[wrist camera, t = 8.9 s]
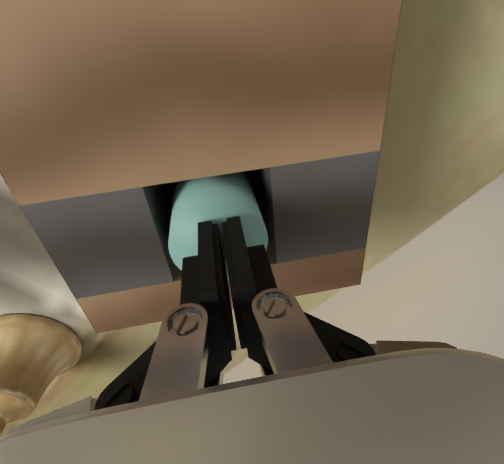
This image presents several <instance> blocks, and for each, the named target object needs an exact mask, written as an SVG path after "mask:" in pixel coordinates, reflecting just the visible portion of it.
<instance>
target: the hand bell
mask: <svg viewBox="0 0 504 464" xmlns="http://www.w3.org/2000/svg"><path fill="white" fill-rule="evenodd" d="M81 354H82V344H81V341H80V339H79V338H78V336H77V335H76V334H75V333H74V332H73V331H72V330H71V329H69V328H68V327H67V326H65V325H63V324H62V323H60V322H57V321H55V320H53V319H50V318H46V317H42V316H37V315H31V314H8V315H1V316H0V435H1V433H2V431H3V429H4V427H5V426H6V425H7V424H13V423H16V422H19V421H22V420H24V419H26V418H27V417H28V416H29V415H31V414H32V412H33V411H34V409H35V408H36V406H37V404H38V402H39V400H40V398H41V397H42V395H43V393H44V392H45V390H46V389H47V387H48V386H49V384H50V383H51V382H52V381H53V380H54V379H55V378H56V377H57V376H59V375H61V374H63V373H65V372H66V371H68V370H69V369H70V368H72V367H73V366H74V365H75V364H76V363H77V362H78V360H79V359H80V357H81Z"/></svg>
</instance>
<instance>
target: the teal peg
mask: <svg viewBox="0 0 504 464" xmlns="http://www.w3.org/2000/svg"><path fill="white" fill-rule="evenodd" d="M236 216H240V220H241V225H242V229H243V233H244V238H245V242H246V247H250V246H256V245H262V244H264V246H265V249H266V250H267V245H268V234H267V230H266V227H265V224H264V221H263V218H262V215H261V213H260V210H259V207H258V204H257V201H256V198H255V196H254V193H253V190H252V187H251V184H250V181H249V178H248V176H247V173H246V171H243V172H236V173H230V174H223V175H217V176H210V177H204V178H197V179H191V180H184V181H178V182H175V187H174V195H173V204H172V213H171V222H170V231H169V240H168V249H169V253H170V256H171V258H172V260H173V262H174V263H175V265H176V266H177V267H178V268H179V269H180V270H181V271H182V261H183V258H184V257H190V256H196V255H198V222H205V221H212V224H215V223H217V224H218V229H219V234H220V240H221V245H222V250H223V255H224V261H225V266H226V271H227V277H228V270H227V262H226V254H225V246H224V238H223V230H222V222H227V220H226V218H230V217H236ZM228 281H229V277H228Z"/></svg>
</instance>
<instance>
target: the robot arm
mask: <svg viewBox="0 0 504 464" xmlns="http://www.w3.org/2000/svg"><path fill="white" fill-rule="evenodd" d="M226 220H227V222H222V230H223V238H224V246H225V254H226V262H227V270H228V277H229V284H228V277H227V271H226V266H225V261H224V255H223V250H222V245H221V240H220V234H219V229H218V224H217V223H215V224H212V221H205V222H198V255H196V256H190V257H184V258H183V261H182V277H181V294H180V305H179V306H177V307H175V308H173V309H172V310H170V311H169V312H168V313H167V314H166V316H165V317H164V319H163V321H162V324H161V327H160V331H159V334H158V337H157V341H156V342H155V343H154V344H153V345H151V346H150V347H149V348H148V349H147V350H146V351H145V352H144V353H143V354H142V355H141V356H140V357H138V358H137V359H136V360H135V361H134V362H133V363H132V364H131V365H130V366H129V367H128V368H127V369H125V370H124V371H123V372H122V373H121V374H120V375H119V376H118V377H117V378H116V379H115V380H113V381H112V382H111V383H110V384H109V385H108V386H107V387H106V388H105V389H104V390H103V392H102V393H101V394H100V396H99V397H96V398H94V399H93V398H92V397H91V396H89V397H87V398H84V399H82V400H79V401H77V402H74V403H72V404H69V405H67V406H65V407H62V408H60V409H57V410H55V411H52V412H50V413H47V414H45V415H42V416H40V417H37V418H35V419H32V420H30V421H28V422H25V423H23V424H21V425H19V426H17V427H15V428H14V429H12V430H11V431H10V432H9V433H8V434H7V435H5V436H2V437H0V464H504V359H502V358H499V357H496V356H492V355H489V354H485V353H481V352H475V351H469V350H462V349H457V348H456V347H454V346H451V345H449V344H447V343H441V342H419V341H376V344H368V343H367V342H366V341H364V340H362V339H361V338H359V337H357V336H355V335H353V334H350V333H348V332H346V331H344V330H342V329H340V328H337V327H335V326H333V325H331V324H329V323H326V322H325V321H322V320H320V319H318V318H316V317H314V316H312V315H309V314H307V313H305V312H303V310H302V309H301V307H300V305H299V303H298V302H297V300H296V298H295V297H294V296H293V295H292V294H291V293H290V292H288V291H287V290H283V289H280V288H277V285H276V282H275V278H274V275H273V272H272V269H271V265H270V262H269V259H268V256H267V252H266V249H265V246H264V244H262V245H256V246H250V247H246V242H245V238H244V233H243V229H242V225H241V220H240V216H236V217H230V218H226ZM229 285H230V291H231V297H232V302H233V308H234V313H235V318H236V324H237V329H238V334H239V340H240V345H241V349H244V348H247V351H248V356H249V358H250V359H252V360H254V361H255V362H257V363H259V364H260V368H261V372H262V374H263V377H258V378H252V379H247V380H242V381H237V382H232V383H227V384H223V371H222V370H223V369H224V368H225V367H226V365H227V364H228V363H229V362H230V361H231V360H232V356H231V351H233V350H236V341H235V332H234V324H233V316H232V308H231V300H230V292H229Z"/></svg>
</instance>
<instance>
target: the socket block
mask: <svg viewBox="0 0 504 464" xmlns="http://www.w3.org/2000/svg"><path fill="white" fill-rule="evenodd" d="M401 2H402V0H0V174H1V176H2V177H3V179H4V181H5V182H6V184H7V186H8V187H9V189H10V191H11V192H12V194H13V196H14V197H15V199H16V201H17V202H18V204H19V206H20V207H21V209H22V211H23V212H24V214H25V215H26V217H27V219H28V220H29V222H30V224H31V225H32V227H33V229H34V230H35V232H36V234H37V235H38V237H39V239H40V240H41V242H42V244H43V245H44V247H45V249H46V250H47V252H48V254H49V255H50V257H51V259H52V260H53V262H54V264H55V265H56V267H57V269H58V270H59V272H60V274H61V275H62V277H63V278H64V280H65V282H66V283H67V285H68V287H69V288H70V290H71V292H72V293H73V295H74V297H75V298H76V300H77V302H78V303H79V305H80V307H81V308H82V310H83V312H84V313H85V315H86V317H87V318H88V320H89V322H90V323H91V325H92V327H93V328H94V330H95V332H96V333H100V332H105V331H111V330H116V329H121V328H127V327H132V326H138V325H143V324H148V323H154V322H159V321H163V319H164V317H165V316H166V314H167V313H168V312H169V311H170V310H172V309H173V308H175V307H177V306H179V305H180V294H181V277H182V271H181V270H180V269H179V268H178V267H177V266H176V265H175V263H174V262H173V260H172V258H171V256H170V253H169V249H168V240H169V231H170V222H171V213H172V204H173V195H174V187H175V182H178V181H184V180H191V179H197V178H204V177H210V176H217V175H223V174H230V173H236V172H243V171H250V180H251V187H252V190H253V193H254V196H255V198H256V201H257V204H258V207H259V210H260V213H261V215H262V218H263V221H264V224H265V227H266V230H267V234H268V245H267V250H266V252H267V256H268V259H269V262H270V265H271V269H272V272H273V275H274V278H275V282H276V285H277V288H280V289H283V290H287V291H288V292H290V293H291V294H292V295H293V296H300V295H305V294H310V293H316V292H321V291H327V290H332V289H337V288H343V287H348V286H353V285H359V284H360V283H361V276H362V270H363V263H364V256H365V249H366V242H367V235H368V228H369V222H370V215H371V208H372V201H373V194H374V187H375V181H376V174H377V167H378V160H379V153H380V146H381V139H382V133H383V126H384V119H385V112H386V105H387V98H388V92H389V85H390V78H391V71H392V64H393V57H394V50H395V44H396V37H397V30H398V23H399V16H400V9H401ZM228 284H229V281H228ZM229 292H230V300H231V308H233V302H232V297H231V291H230V285H229Z"/></svg>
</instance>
